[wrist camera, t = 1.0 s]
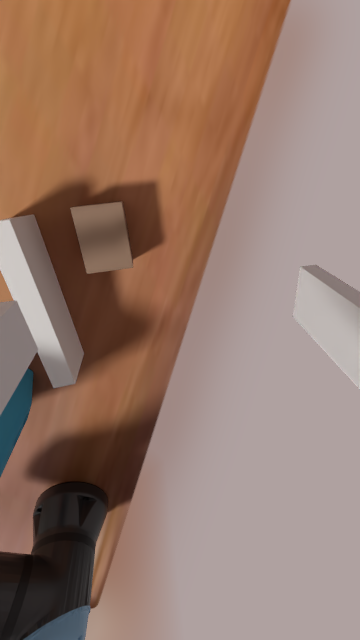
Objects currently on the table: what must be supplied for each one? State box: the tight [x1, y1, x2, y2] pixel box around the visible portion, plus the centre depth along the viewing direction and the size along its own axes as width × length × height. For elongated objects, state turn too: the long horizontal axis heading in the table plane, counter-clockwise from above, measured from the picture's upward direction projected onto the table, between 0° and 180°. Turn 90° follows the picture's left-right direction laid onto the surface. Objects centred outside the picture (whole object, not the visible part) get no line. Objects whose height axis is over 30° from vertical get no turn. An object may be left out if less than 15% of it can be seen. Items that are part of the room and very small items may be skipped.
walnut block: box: [70, 201, 133, 274], centre depth 36 cm, size 8×6×5 cm
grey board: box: [0, 214, 84, 388], centre depth 37 cm, size 22×3×8 cm, turn 8°
